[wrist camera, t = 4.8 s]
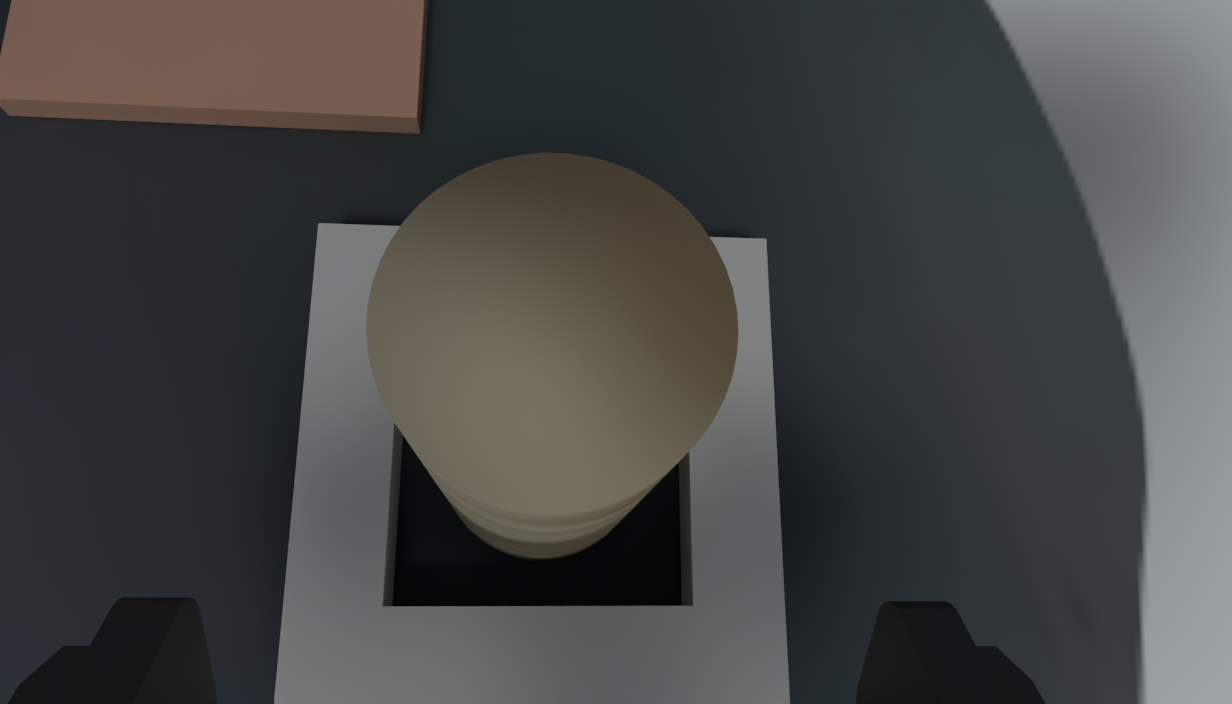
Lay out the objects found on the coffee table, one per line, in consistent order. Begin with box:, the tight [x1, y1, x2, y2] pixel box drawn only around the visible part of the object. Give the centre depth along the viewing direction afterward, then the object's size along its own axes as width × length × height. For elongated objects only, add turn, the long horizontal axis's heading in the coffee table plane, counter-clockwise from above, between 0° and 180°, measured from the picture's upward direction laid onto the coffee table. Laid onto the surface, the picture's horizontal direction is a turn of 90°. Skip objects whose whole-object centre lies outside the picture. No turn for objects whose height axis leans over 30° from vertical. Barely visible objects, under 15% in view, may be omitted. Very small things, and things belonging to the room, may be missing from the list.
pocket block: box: [274, 223, 790, 704], centre depth 21 cm, size 10×10×2 cm
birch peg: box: [366, 153, 738, 561], centre depth 16 cm, size 4×4×11 cm
